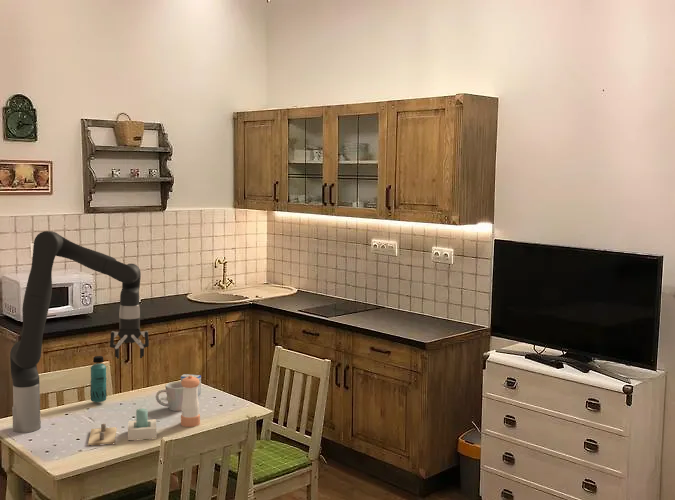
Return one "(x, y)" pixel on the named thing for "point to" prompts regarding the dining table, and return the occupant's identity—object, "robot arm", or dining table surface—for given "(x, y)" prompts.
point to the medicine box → (196, 377)
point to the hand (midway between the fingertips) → (129, 357)
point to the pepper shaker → (190, 402)
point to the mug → (172, 395)
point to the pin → (141, 418)
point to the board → (106, 436)
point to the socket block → (142, 430)
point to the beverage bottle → (98, 380)
